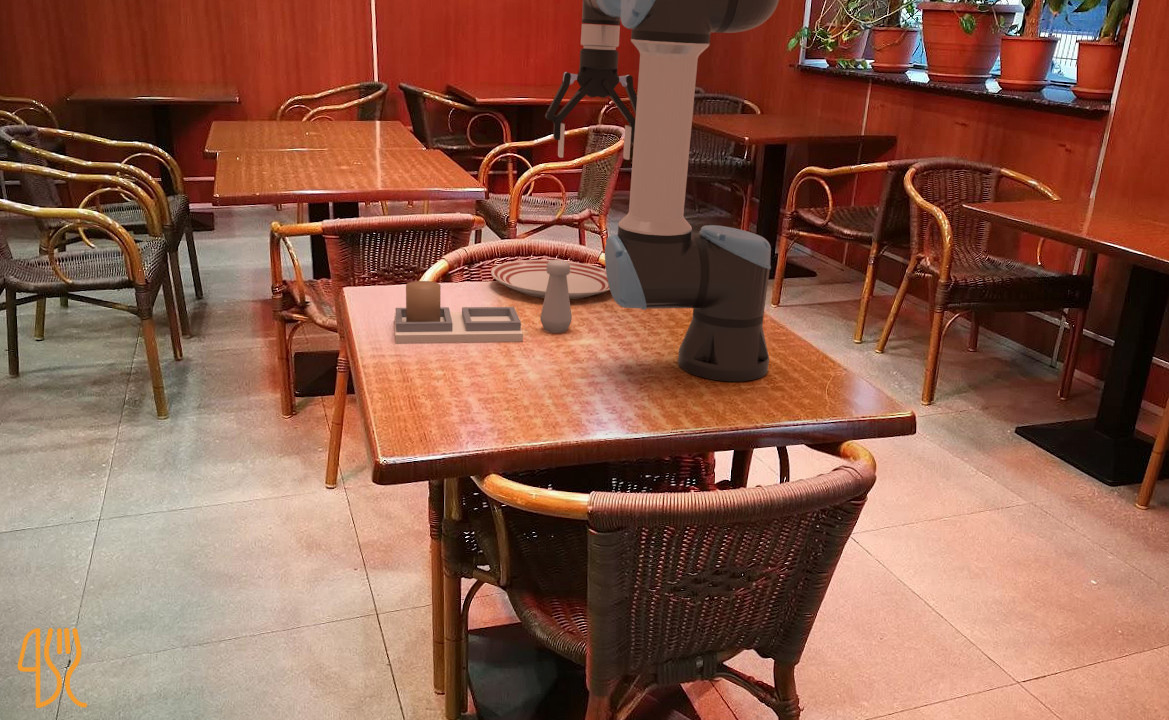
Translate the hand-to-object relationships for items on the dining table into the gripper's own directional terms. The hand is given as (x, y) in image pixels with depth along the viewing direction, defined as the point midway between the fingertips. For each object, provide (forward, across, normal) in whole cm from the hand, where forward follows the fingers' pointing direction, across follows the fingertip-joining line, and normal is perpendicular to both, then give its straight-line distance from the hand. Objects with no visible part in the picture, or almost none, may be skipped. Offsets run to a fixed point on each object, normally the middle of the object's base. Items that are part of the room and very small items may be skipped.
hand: (593, 157), depth 193 cm
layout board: (+28, +28, +29) cm, 49 cm away
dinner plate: (+28, +6, -1) cm, 29 cm away
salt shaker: (+28, +10, +28) cm, 41 cm away
